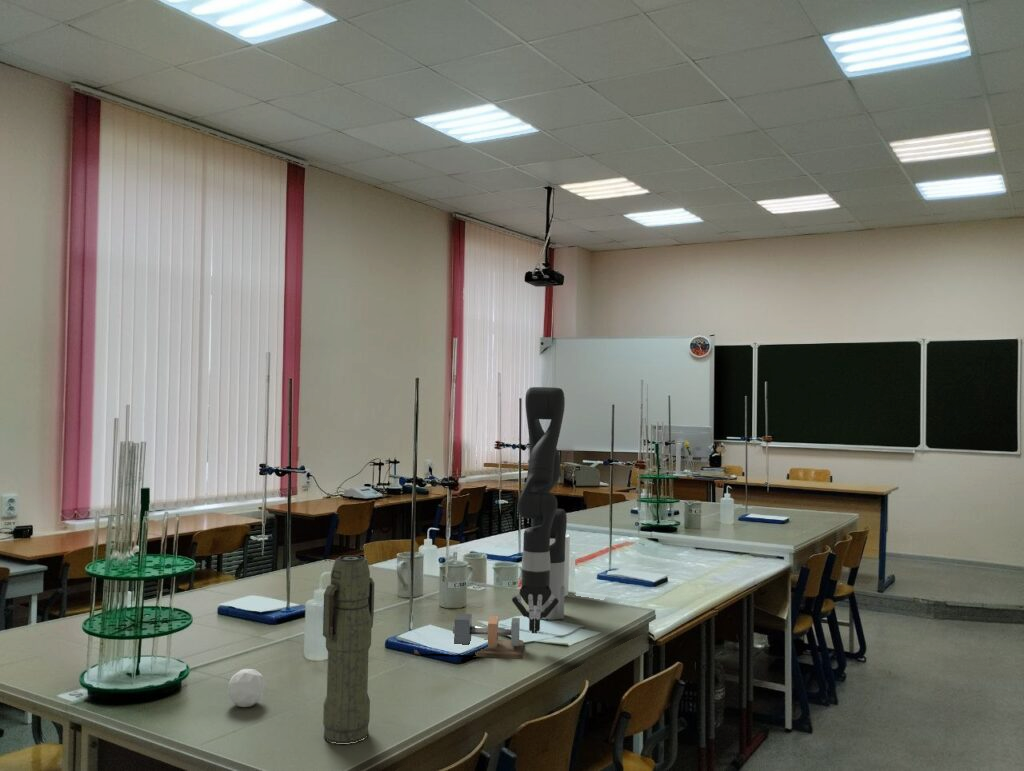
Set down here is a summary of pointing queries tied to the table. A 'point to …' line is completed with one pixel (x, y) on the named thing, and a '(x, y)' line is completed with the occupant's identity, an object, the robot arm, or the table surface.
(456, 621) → the grey upright block
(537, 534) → the robot arm
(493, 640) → the block
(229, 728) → the table surface
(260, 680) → the geometric ball
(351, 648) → the thermos
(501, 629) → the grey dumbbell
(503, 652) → the base plank
